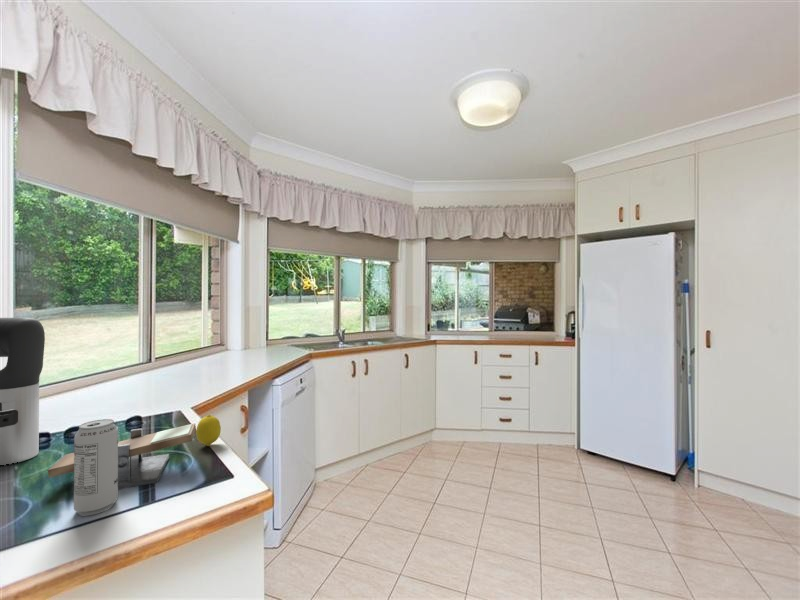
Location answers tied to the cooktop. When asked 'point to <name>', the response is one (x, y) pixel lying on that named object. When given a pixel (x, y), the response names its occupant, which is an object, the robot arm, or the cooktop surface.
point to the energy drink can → (95, 467)
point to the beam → (136, 446)
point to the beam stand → (138, 466)
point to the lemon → (208, 430)
